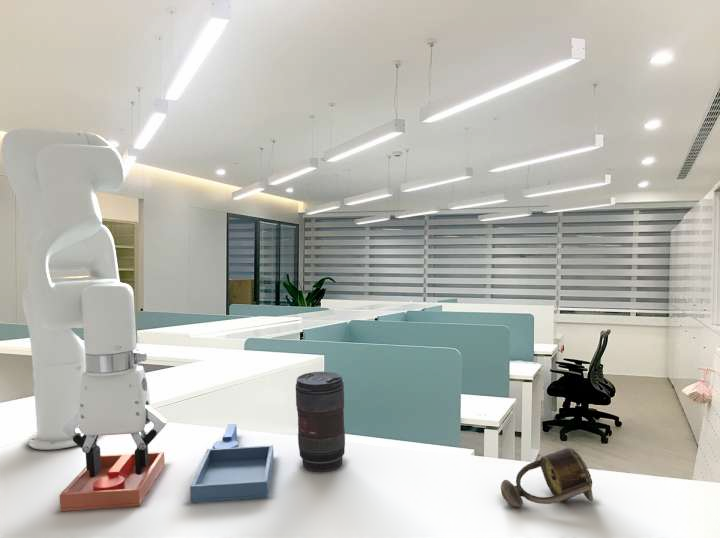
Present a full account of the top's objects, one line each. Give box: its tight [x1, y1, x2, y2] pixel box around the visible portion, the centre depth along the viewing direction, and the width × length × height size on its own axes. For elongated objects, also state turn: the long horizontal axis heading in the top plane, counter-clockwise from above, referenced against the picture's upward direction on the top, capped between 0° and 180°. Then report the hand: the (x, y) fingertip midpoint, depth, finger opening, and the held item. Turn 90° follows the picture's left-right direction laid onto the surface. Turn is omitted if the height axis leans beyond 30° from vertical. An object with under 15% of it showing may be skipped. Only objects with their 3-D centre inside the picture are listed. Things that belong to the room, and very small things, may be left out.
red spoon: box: [93, 455, 133, 491], centre depth 92 cm, size 11×4×3 cm, turn 5°
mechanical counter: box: [500, 446, 594, 508], centre depth 84 cm, size 7×13×10 cm
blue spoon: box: [212, 423, 239, 449], centre depth 107 cm, size 11×4×3 cm, turn 5°
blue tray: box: [189, 444, 275, 504], centre depth 94 cm, size 15×11×2 cm
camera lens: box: [295, 371, 346, 472], centre depth 98 cm, size 8×8×15 cm
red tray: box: [59, 451, 166, 512], centre depth 92 cm, size 15×11×2 cm
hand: (118, 471), depth 93 cm, fingers open, 6 cm apart
